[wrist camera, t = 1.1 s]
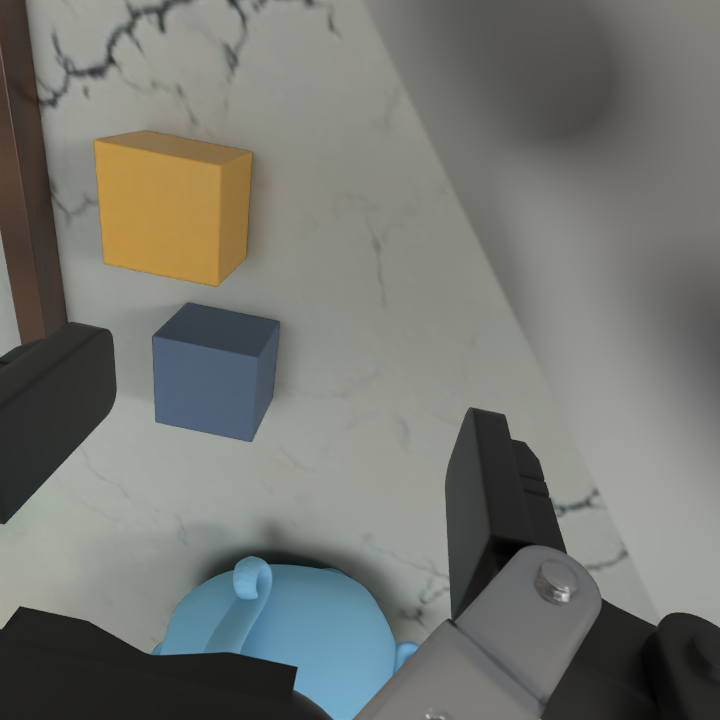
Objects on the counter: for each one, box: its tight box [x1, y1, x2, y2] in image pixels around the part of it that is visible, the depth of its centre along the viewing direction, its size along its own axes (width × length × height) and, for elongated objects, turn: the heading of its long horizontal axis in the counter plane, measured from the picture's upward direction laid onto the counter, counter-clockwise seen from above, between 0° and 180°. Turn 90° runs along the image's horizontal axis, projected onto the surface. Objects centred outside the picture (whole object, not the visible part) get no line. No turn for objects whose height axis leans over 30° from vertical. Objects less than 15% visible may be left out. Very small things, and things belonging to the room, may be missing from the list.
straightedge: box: [0, 0, 67, 345], centre depth 25 cm, size 20×2×2 cm, turn 170°
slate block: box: [152, 303, 280, 442], centre depth 26 cm, size 5×5×4 cm
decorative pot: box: [151, 556, 421, 720], centre depth 32 cm, size 16×16×14 cm
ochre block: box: [94, 130, 252, 287], centre depth 22 cm, size 5×5×4 cm
